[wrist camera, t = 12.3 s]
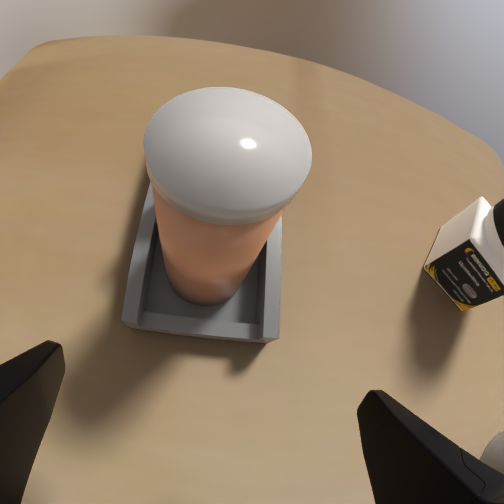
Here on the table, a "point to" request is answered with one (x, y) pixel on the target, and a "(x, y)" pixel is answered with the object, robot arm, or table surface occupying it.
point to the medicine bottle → (470, 255)
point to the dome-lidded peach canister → (220, 184)
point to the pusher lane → (201, 317)
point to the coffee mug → (495, 453)
